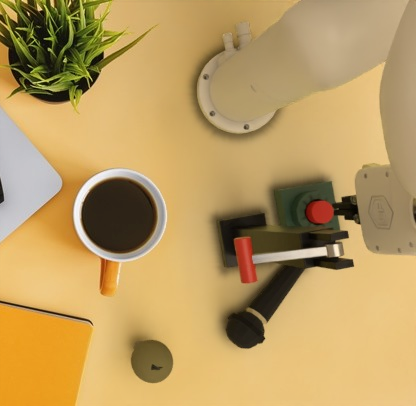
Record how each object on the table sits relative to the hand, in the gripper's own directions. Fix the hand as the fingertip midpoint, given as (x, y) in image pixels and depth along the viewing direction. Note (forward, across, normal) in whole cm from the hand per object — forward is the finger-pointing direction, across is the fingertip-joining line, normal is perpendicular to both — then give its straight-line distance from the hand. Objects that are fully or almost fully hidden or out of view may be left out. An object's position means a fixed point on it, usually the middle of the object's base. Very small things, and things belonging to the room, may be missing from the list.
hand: (343, 207), depth 72 cm
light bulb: (+11, +16, -28) cm, 34 cm away
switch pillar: (+11, +3, -10) cm, 15 cm away
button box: (+11, +1, 0) cm, 11 cm away
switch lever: (-10, +3, -14) cm, 17 cm away
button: (+7, +1, 0) cm, 7 cm away
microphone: (+11, +12, -7) cm, 18 cm away
